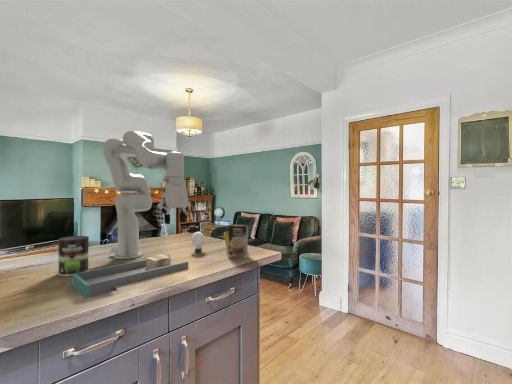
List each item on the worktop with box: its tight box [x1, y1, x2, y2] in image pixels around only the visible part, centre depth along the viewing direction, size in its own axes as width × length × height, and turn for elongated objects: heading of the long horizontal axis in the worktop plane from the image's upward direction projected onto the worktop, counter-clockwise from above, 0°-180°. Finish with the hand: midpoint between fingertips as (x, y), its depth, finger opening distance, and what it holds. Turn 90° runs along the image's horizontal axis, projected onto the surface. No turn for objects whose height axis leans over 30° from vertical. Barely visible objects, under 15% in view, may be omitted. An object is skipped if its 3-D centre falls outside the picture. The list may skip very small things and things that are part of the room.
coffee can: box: [57, 235, 90, 277], centre depth 109 cm, size 10×10×14 cm
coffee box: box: [227, 223, 249, 260], centre depth 133 cm, size 9×6×16 cm
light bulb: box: [191, 231, 205, 254], centre depth 143 cm, size 7×7×11 cm
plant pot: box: [223, 231, 229, 252], centre depth 148 cm, size 10×10×10 cm
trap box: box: [71, 254, 189, 299], centre depth 103 cm, size 37×16×4 cm, turn 137°
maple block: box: [145, 254, 172, 270], centre depth 110 cm, size 7×7×4 cm
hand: (175, 222), depth 115 cm, fingers open, 6 cm apart
